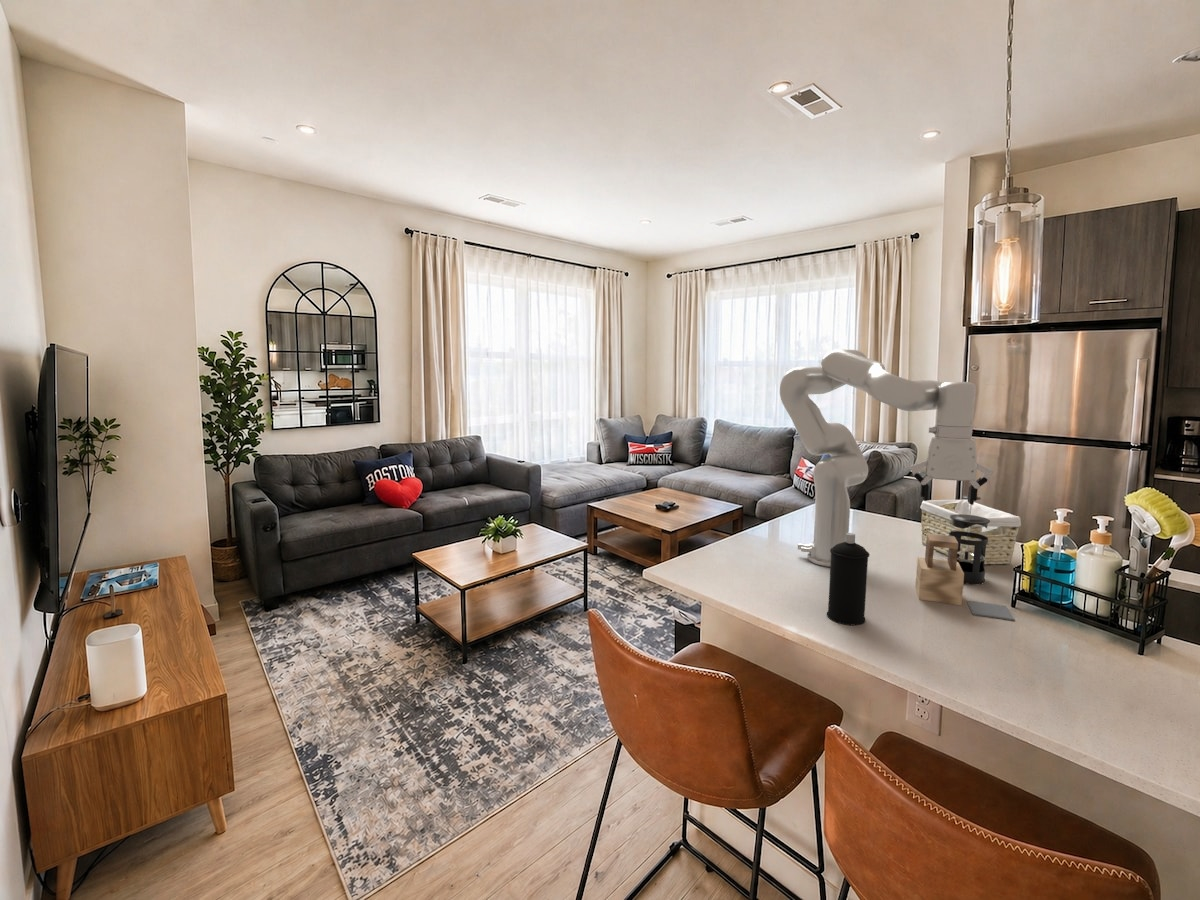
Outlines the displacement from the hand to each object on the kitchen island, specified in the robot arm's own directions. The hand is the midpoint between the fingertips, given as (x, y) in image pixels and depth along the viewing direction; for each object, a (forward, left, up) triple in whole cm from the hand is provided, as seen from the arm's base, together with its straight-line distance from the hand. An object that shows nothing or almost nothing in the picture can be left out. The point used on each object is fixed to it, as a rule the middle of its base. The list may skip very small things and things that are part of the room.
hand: (947, 501), depth 137 cm
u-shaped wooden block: (0, -1, -16) cm, 16 cm away
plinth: (0, -1, -24) cm, 24 cm away
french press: (+8, +16, -25) cm, 30 cm away
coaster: (+10, -6, -24) cm, 27 cm away
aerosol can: (-21, -24, -25) cm, 40 cm away
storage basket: (+11, +40, -25) cm, 49 cm away
